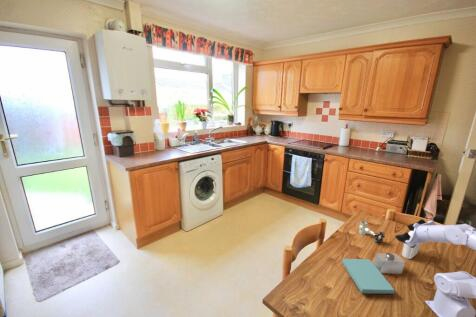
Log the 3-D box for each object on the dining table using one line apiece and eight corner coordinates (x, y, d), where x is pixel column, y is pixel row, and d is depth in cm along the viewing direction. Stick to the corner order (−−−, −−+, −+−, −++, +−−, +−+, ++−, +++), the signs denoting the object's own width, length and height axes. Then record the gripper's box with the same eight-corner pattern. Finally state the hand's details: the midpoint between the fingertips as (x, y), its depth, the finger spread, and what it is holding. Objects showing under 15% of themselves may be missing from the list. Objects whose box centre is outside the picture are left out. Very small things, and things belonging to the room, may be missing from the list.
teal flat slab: (393, 296, 81) (394, 289, 80) (360, 295, 81) (361, 289, 80) (368, 265, 97) (369, 259, 96) (341, 264, 97) (342, 258, 96)
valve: (354, 232, 121) (374, 245, 110) (356, 221, 119) (377, 233, 109) (362, 229, 124) (383, 242, 113) (364, 219, 122) (386, 230, 111)
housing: (401, 273, 92) (405, 259, 90) (380, 273, 92) (383, 259, 90) (393, 265, 97) (396, 251, 95) (373, 264, 97) (376, 251, 95)
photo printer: (408, 247, 109) (414, 225, 105) (419, 252, 105) (425, 230, 102) (399, 255, 103) (405, 232, 100) (410, 260, 100) (416, 237, 96)
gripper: (438, 212, 81) (407, 215, 94) (413, 234, 77) (385, 234, 90) (452, 229, 80) (419, 229, 93) (427, 252, 76) (396, 249, 89)
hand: (403, 232), depth 91 cm, fingers open, 7 cm apart
